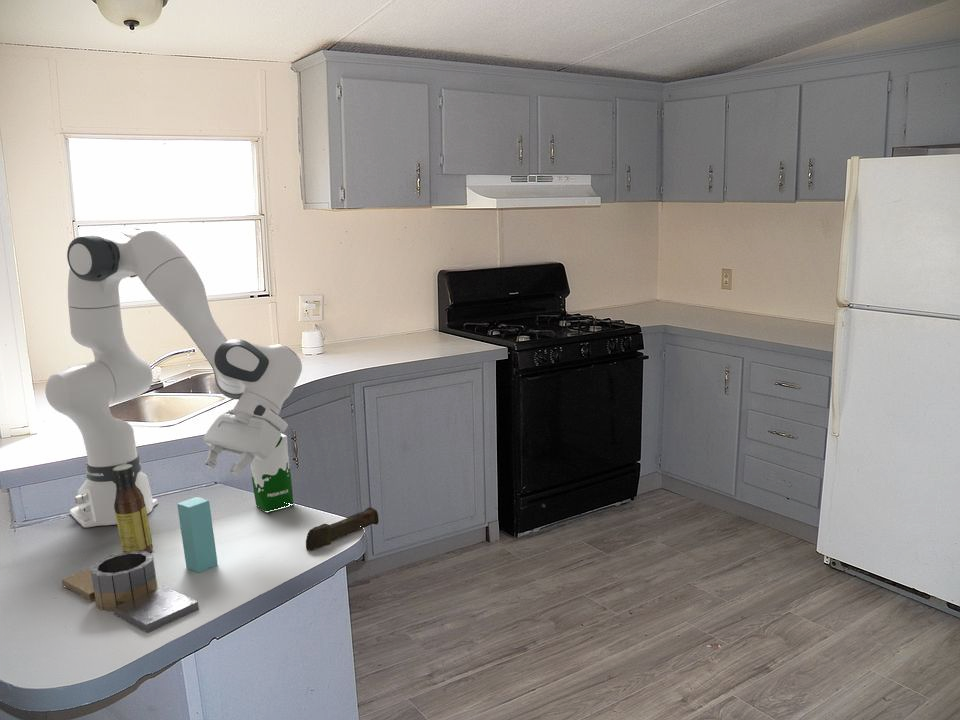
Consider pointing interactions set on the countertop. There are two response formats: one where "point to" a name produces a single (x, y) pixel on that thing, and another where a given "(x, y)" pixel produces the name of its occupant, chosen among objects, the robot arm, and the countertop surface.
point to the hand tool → (340, 528)
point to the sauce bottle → (131, 512)
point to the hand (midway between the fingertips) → (221, 470)
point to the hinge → (131, 590)
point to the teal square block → (197, 534)
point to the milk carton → (273, 478)
